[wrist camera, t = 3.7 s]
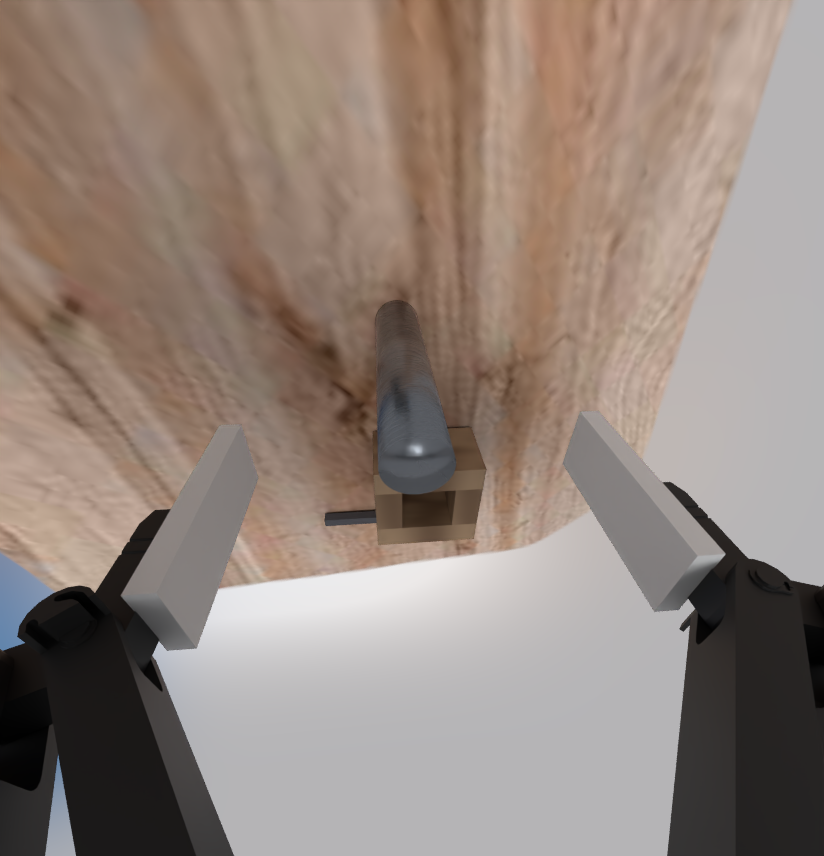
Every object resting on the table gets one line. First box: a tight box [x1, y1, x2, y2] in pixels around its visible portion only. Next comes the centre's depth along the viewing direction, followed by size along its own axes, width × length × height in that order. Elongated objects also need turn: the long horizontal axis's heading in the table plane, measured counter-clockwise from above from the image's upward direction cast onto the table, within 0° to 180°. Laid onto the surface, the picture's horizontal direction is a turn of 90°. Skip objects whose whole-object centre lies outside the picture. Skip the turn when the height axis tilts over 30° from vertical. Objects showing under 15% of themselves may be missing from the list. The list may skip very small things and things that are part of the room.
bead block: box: [373, 427, 486, 545], centre depth 30 cm, size 8×8×5 cm
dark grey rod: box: [325, 511, 377, 526], centre depth 35 cm, size 14×1×1 cm, turn 89°
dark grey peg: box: [375, 301, 456, 494], centre depth 19 cm, size 3×3×14 cm
